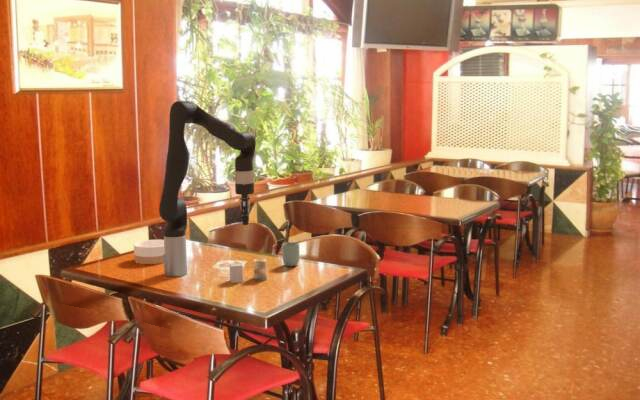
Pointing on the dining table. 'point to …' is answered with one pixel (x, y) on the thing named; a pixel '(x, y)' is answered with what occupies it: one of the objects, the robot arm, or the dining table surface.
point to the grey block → (236, 273)
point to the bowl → (149, 251)
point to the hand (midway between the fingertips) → (245, 223)
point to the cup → (290, 253)
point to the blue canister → (260, 269)
